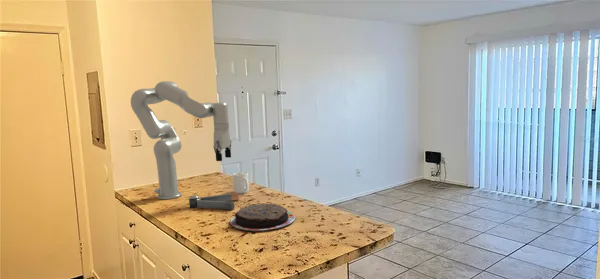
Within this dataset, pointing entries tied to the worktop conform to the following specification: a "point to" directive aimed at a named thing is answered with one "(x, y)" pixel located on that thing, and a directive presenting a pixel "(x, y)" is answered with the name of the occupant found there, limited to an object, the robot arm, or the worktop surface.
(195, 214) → the worktop surface
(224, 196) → the tong arm
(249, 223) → the chocolate cake
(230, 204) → the base
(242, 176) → the cup
